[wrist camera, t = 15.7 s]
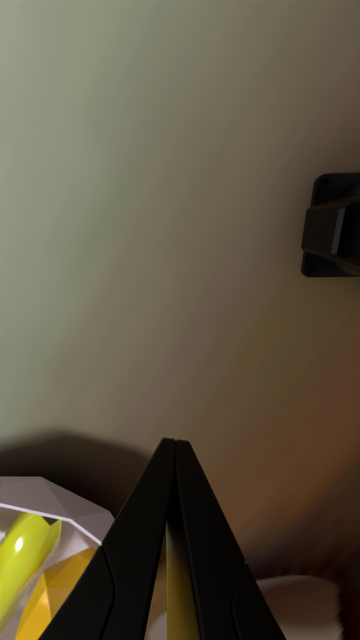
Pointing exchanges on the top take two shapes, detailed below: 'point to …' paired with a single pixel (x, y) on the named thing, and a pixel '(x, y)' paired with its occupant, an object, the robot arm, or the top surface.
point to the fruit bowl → (42, 551)
